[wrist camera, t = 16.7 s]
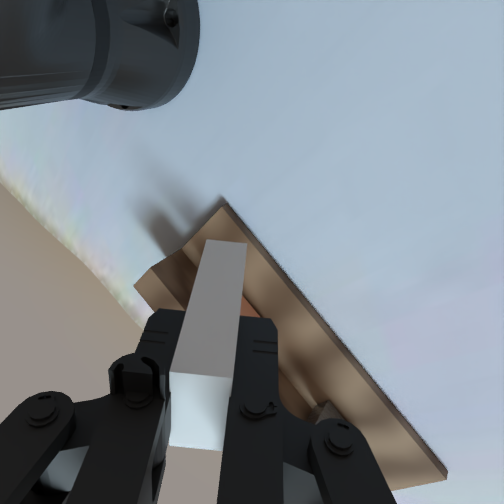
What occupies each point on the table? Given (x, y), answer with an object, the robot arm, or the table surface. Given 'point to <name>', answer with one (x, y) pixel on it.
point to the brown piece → (301, 350)
